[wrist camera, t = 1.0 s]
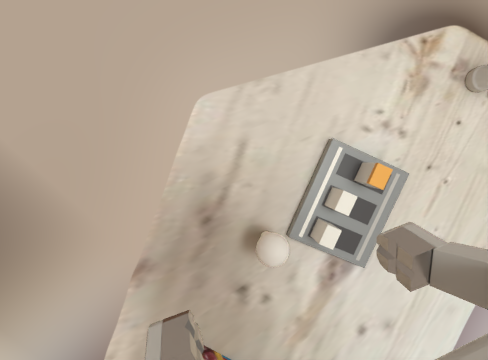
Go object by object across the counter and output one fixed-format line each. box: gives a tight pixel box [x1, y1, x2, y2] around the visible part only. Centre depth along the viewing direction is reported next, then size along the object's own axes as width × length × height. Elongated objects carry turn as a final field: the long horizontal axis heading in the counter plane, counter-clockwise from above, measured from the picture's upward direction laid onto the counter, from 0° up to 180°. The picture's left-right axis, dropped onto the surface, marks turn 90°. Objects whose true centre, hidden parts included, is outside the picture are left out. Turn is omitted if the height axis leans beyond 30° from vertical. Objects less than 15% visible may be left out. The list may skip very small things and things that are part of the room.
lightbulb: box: [256, 231, 290, 267], centre depth 48 cm, size 6×6×11 cm
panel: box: [287, 138, 409, 268], centre depth 50 cm, size 18×22×7 cm
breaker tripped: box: [354, 162, 393, 190], centre depth 48 cm, size 3×4×5 cm
